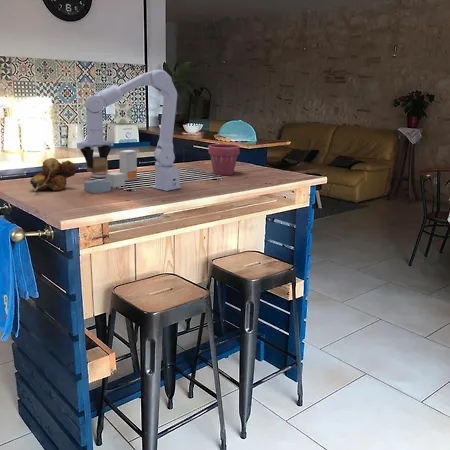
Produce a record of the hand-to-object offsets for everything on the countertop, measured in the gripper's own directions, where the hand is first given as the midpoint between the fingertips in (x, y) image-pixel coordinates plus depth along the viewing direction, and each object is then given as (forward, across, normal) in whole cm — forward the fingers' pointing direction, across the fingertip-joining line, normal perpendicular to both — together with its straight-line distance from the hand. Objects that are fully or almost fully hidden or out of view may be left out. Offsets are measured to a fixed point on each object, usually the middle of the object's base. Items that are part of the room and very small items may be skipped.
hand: (96, 166), depth 185 cm
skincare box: (+9, -22, -9) cm, 25 cm away
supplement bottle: (+9, -17, -22) cm, 29 cm away
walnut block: (+2, 0, 0) cm, 2 cm away
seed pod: (+9, +11, -13) cm, 20 cm away
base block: (+9, 0, 0) cm, 9 cm away
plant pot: (+9, -63, +8) cm, 64 cm away
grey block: (+9, -10, -2) cm, 14 cm away
